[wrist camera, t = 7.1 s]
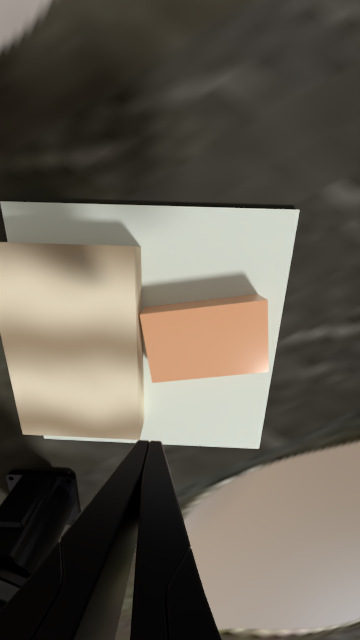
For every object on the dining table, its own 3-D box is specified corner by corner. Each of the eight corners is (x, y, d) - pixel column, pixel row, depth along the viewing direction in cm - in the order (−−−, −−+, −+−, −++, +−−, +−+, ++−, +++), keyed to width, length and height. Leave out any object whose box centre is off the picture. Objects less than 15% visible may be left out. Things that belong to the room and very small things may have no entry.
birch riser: (145, 416, 19) (139, 439, 17) (42, 412, 20) (22, 434, 17) (142, 246, 15) (133, 246, 13) (12, 242, 16) (-20, 241, 13)
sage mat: (257, 445, 20) (259, 448, 20) (46, 435, 20) (44, 438, 20) (296, 210, 14) (299, 209, 14) (4, 202, 15) (0, 201, 14)
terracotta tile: (259, 358, 17) (268, 371, 15) (156, 368, 18) (152, 382, 16) (257, 293, 16) (267, 299, 14) (145, 306, 16) (139, 314, 14)
